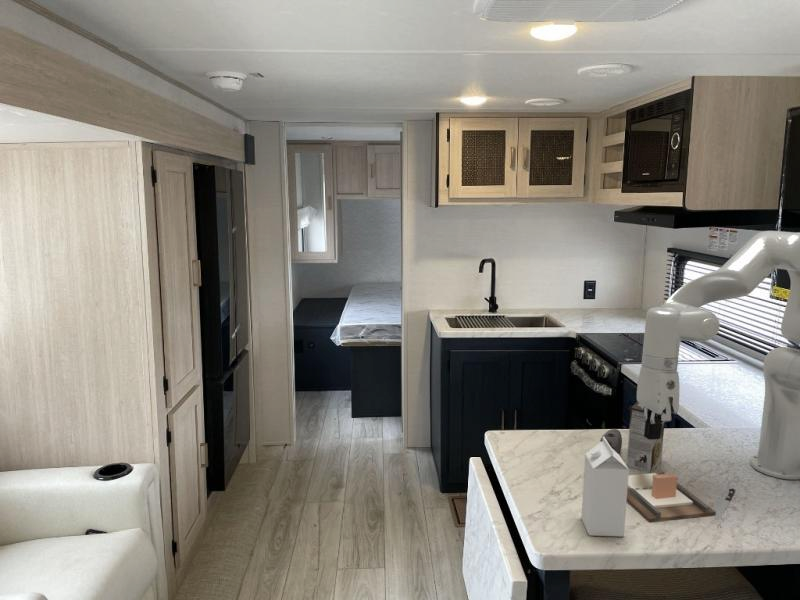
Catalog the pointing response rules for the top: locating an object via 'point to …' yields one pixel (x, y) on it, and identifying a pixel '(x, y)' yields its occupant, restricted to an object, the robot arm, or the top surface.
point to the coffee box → (642, 443)
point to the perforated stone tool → (613, 439)
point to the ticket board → (665, 512)
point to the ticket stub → (665, 492)
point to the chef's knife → (722, 504)
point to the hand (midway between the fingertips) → (652, 437)
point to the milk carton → (604, 491)
